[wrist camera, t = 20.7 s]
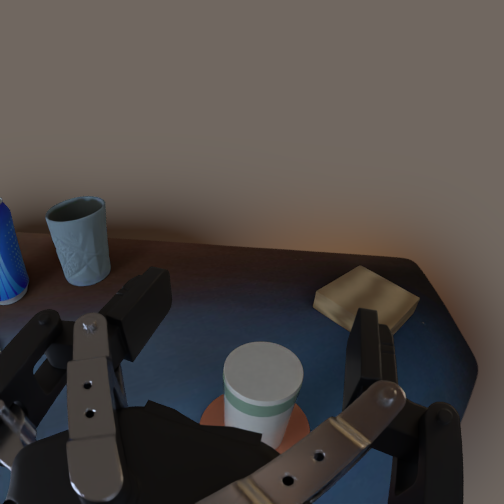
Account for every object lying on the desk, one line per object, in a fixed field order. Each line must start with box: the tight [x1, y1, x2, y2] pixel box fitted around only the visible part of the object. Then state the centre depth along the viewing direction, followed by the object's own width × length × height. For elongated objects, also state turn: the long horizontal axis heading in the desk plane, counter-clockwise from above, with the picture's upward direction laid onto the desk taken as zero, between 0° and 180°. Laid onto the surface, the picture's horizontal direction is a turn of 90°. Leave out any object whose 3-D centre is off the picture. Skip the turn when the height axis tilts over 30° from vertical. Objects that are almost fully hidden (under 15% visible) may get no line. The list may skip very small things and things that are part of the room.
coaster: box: [200, 394, 310, 454], centre depth 28 cm, size 11×11×1 cm
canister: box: [223, 342, 303, 449], centre depth 25 cm, size 6×6×10 cm
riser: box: [313, 265, 420, 335], centre depth 45 cm, size 12×12×3 cm
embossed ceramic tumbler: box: [46, 196, 111, 286], centre depth 46 cm, size 10×10×12 cm
